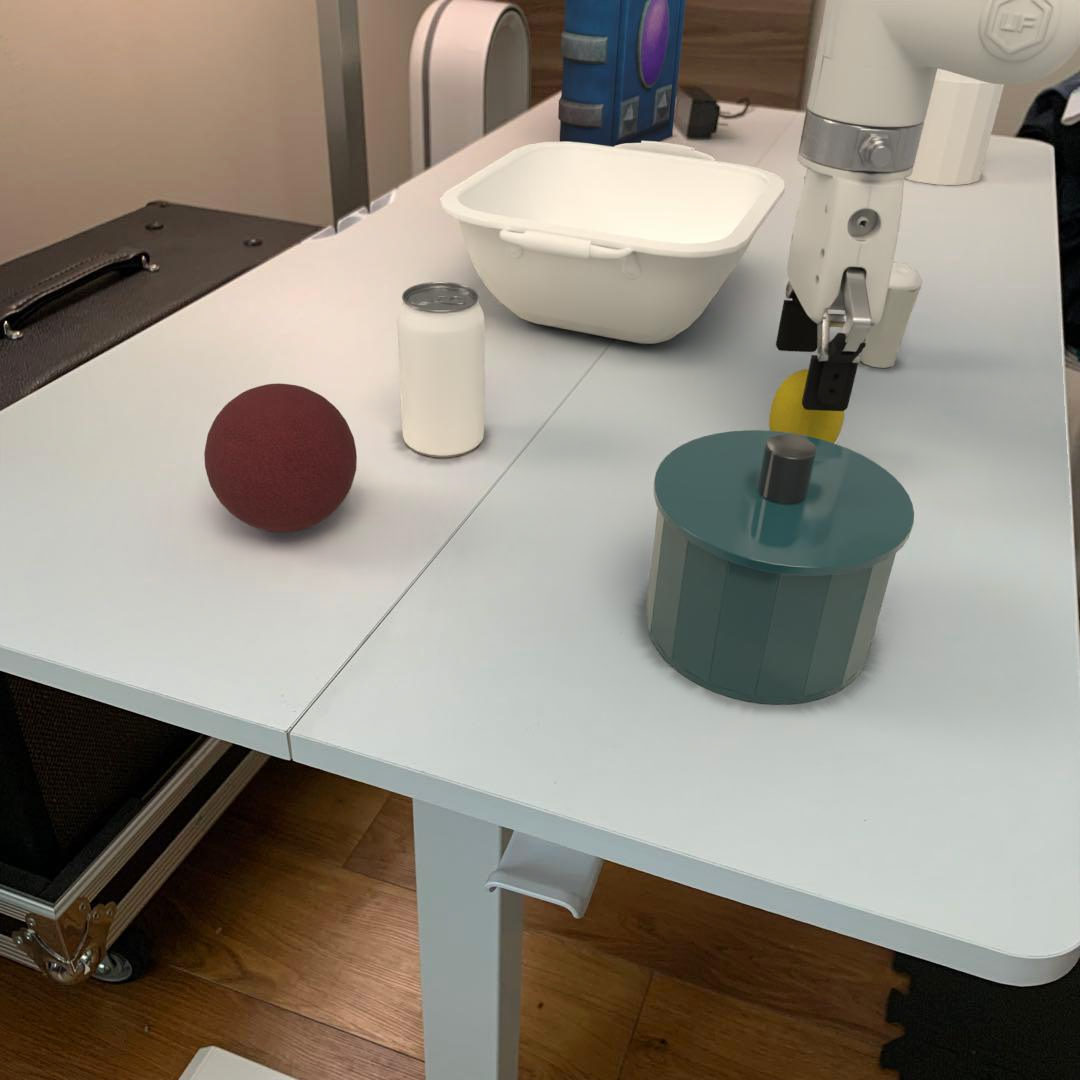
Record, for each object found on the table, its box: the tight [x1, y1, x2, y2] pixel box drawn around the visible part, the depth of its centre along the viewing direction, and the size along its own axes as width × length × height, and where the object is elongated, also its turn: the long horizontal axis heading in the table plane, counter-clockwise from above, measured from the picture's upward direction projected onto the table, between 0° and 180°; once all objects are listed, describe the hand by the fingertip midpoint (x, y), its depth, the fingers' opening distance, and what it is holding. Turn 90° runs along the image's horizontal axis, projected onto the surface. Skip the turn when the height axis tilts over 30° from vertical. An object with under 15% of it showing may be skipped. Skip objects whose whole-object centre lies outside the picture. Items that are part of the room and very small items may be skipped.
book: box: [557, 0, 686, 147], centre depth 150 cm, size 24×9×30 cm, turn 147°
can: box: [396, 281, 485, 459], centre depth 82 cm, size 6×6×12 cm
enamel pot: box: [646, 508, 897, 705], centre depth 64 cm, size 14×14×10 cm
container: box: [904, 69, 1005, 186], centre depth 148 cm, size 14×13×20 cm
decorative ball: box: [203, 383, 358, 533], centre depth 72 cm, size 10×10×10 cm
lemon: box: [768, 368, 846, 444], centre depth 82 cm, size 6×6×8 cm
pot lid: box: [652, 429, 915, 576], centre depth 60 cm, size 15×15×4 cm
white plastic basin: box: [438, 141, 786, 345], centre depth 104 cm, size 34×28×13 cm
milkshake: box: [860, 261, 923, 369], centre depth 97 cm, size 4×5×10 cm
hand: (809, 377), depth 80 cm, fingers open, 9 cm apart
